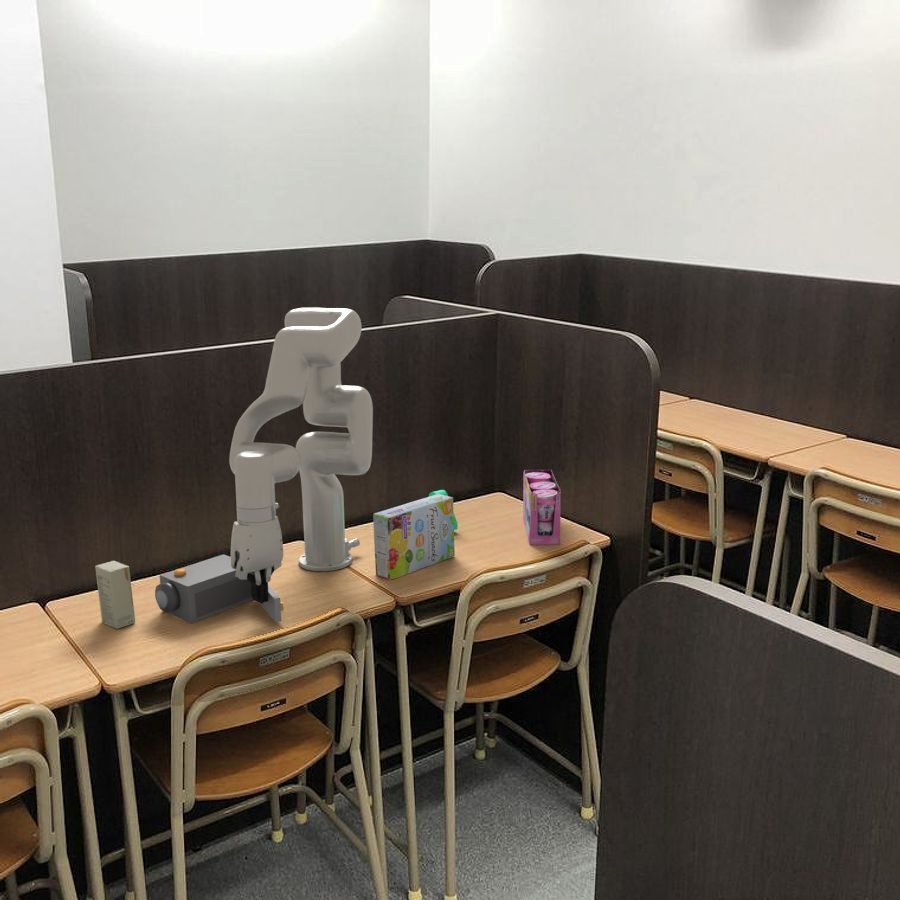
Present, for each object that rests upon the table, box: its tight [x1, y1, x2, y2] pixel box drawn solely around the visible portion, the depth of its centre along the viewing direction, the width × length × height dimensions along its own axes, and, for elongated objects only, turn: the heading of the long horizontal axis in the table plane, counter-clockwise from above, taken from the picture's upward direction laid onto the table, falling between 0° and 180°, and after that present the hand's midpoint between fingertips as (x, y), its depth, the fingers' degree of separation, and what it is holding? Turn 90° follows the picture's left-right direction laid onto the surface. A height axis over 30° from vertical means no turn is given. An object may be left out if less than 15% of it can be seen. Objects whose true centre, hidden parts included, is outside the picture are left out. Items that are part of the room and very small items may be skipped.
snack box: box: [372, 494, 456, 581], centre depth 220 cm, size 21×6×15 cm, turn 136°
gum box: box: [522, 469, 562, 546], centre depth 243 cm, size 24×8×14 cm, turn 0°
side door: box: [259, 584, 284, 623], centre depth 195 cm, size 15×2×5 cm, turn 28°
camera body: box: [154, 553, 253, 624], centre depth 198 cm, size 19×10×9 cm, turn 139°
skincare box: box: [94, 560, 136, 630], centre depth 190 cm, size 6×4×12 cm
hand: (260, 600), depth 191 cm, fingers closed
